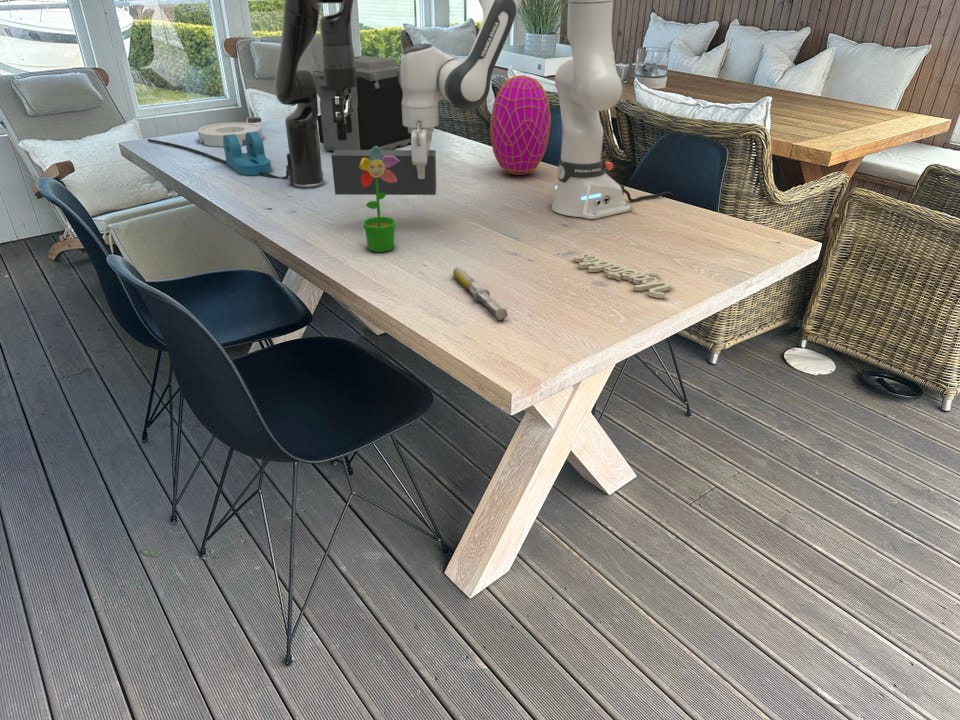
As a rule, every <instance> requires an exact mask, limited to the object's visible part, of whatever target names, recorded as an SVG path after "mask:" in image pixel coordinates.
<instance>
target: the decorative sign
mask: <svg viewBox="0 0 960 720" xmlns="http://www.w3.org/2000/svg"><path fill="white" fill-rule="evenodd" d="M574 262H575V263H578V269H588V270H587V272H588V273H598V272H603V273H604V276H606V277H607V278H608V279H614V280H617V281H621V279H622V280H627V281H628V282H630V283H633V284H634V285H633V291H636V292H643V291H647V290H648V293H647V294H648V296H649V297H652V298H656V299H664V298H665V295H666V292H668V291H669V290H670V289H671V283H670V282H668V281H659V279H658V272H657V271H648V272H639V271H637V270H634V269H630V268H628V267H627V266H626V267H625V266H624V265H619V264H618V263H615V262H611V261H610V260H604V258H601V257H598V256H596V255H592V254H590V253H587V252H586V253H582V254H581V255H580V256H578V255H575V256H574Z"/></svg>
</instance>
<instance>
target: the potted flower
mask: <svg viewBox="0 0 960 720" xmlns="http://www.w3.org/2000/svg"><path fill="white" fill-rule="evenodd" d="M369 158H370V160H369V159H367V158H362V160H361V162H360V165H359V168H360V169H361V170H364V171H365V170H366V171H365V172H364V173H363V174H362V176H361V183H362V185H363V187H364V188H365V187H367V186H369V185H370V184H371V182H372V181H373V178H375V186H376V195H375V200H370V201H368V202H367V203H366V204H365V206H366V207H367V208H368V209H370V210H371V209H372V210H376V213H377V216H373V217H369V218H366V219H364V220H363V221H362V225H363V229H364V232H365V237H366V243H367V248H368V250H370V251H372V252H376V253H386V252H389V251H392V250H393V249H394V247H395V230H396V229H395V228H396V224H397V221H396V220H395V219H394V218H392V217H389V216H388V217H387V216H381V207H380V205H381V204H380V200H381V201H382V200H384V198H385V197H386V196H387V195H386V193H380V194H379V189H378V177H380V178H381V179H382V180H383V181H384V182H387V183H395V182H398V181H397V179H396V177H395V175H394V174H393V173H392V172H391V171H390V170H388V169H385V168H389V167H392V166H394V165H395V164H396V163H398V162H399V160H398V159H397V158H396V157H394V156H392V155H387V156H384V157H382V158H381V150H380V148H379V147H378V146H375V147H373V148H372V149H371V150H370V152H369ZM380 158H381V159H380Z"/></svg>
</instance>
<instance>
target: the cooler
mask: <svg viewBox="0 0 960 720" xmlns="http://www.w3.org/2000/svg"><path fill="white" fill-rule="evenodd" d="M400 67H401V64H396V62H395V60H394V59H393V58H385V57H377V56H367V55H356V56H355V68H356V81H357V85H356V86H355V87H353V88H351V97H352V108H353V112H352V116H350V117H351V120H352V132H351V133H347V140H345V141H339V140H338V137H337V127H336V124H335V123H334V121H333V108H332V100H331V98H332V96H334V92H335V91H334V89H333V88H327V87H326V86H325V83H324V73H323V71H320V70H314V71H313V70H312V71H310V72H311V73H312V75H313V77H314V79H315V82H316V88H317V97H318V98H319V110H320V111H319V112H320V114H318V119H317V127H318V137H319V144H323V146H324V149H325V150H327V151H330V152H334V151H335V150H371V149H372V148H373V147H375V146H378V147H379V148H380V150H395V149H396V148H397V147H405V146H407V145H408V144H411V133H409V132H408V127H405V126H403V123H402V99H403V92H402V89H401V80H400ZM338 118H342V116H338Z"/></svg>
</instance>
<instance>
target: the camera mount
mask: <svg viewBox="0 0 960 720" xmlns="http://www.w3.org/2000/svg"><path fill="white" fill-rule="evenodd" d="M245 139H246V144H245V146H246V152H243V151H242V150H243V149H242V145H240V142H239V140H238V138H237V136H236V135H235V134H230V135H224V137H223V144H224V146H223V149H224V150H223V151H224V156H225V161H226V162H227V164H226V165H227V166H228V167H230V168H231V169H232V170H234V171H236V172H237V173H238V174H239V175H244V176H260V174H259V173H260V172H263V173H268V174H270V173H271V172H272V164H271V159H270V158H268V157H267V156H266V153H265V145H264V141H263V138H261V136H260V134H259V133H258V132H257V131H255V132H247V133H246V137H245Z"/></svg>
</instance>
